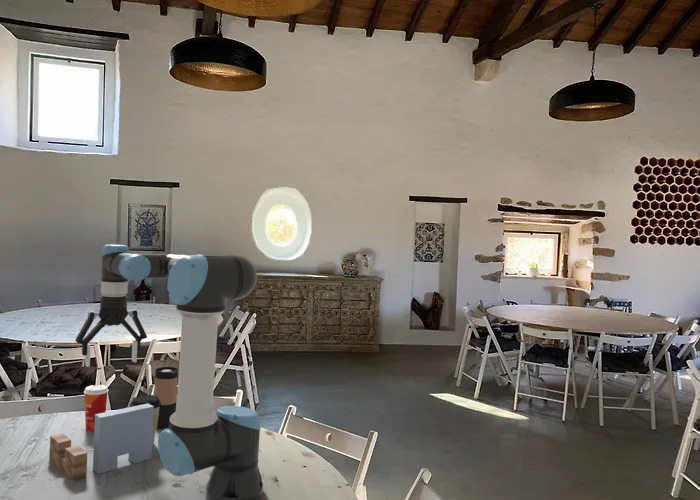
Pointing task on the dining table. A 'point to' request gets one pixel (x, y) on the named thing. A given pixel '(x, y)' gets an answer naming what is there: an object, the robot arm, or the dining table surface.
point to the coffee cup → (152, 401)
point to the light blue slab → (122, 436)
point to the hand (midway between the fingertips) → (111, 363)
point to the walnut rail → (68, 457)
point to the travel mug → (166, 394)
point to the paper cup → (94, 403)
